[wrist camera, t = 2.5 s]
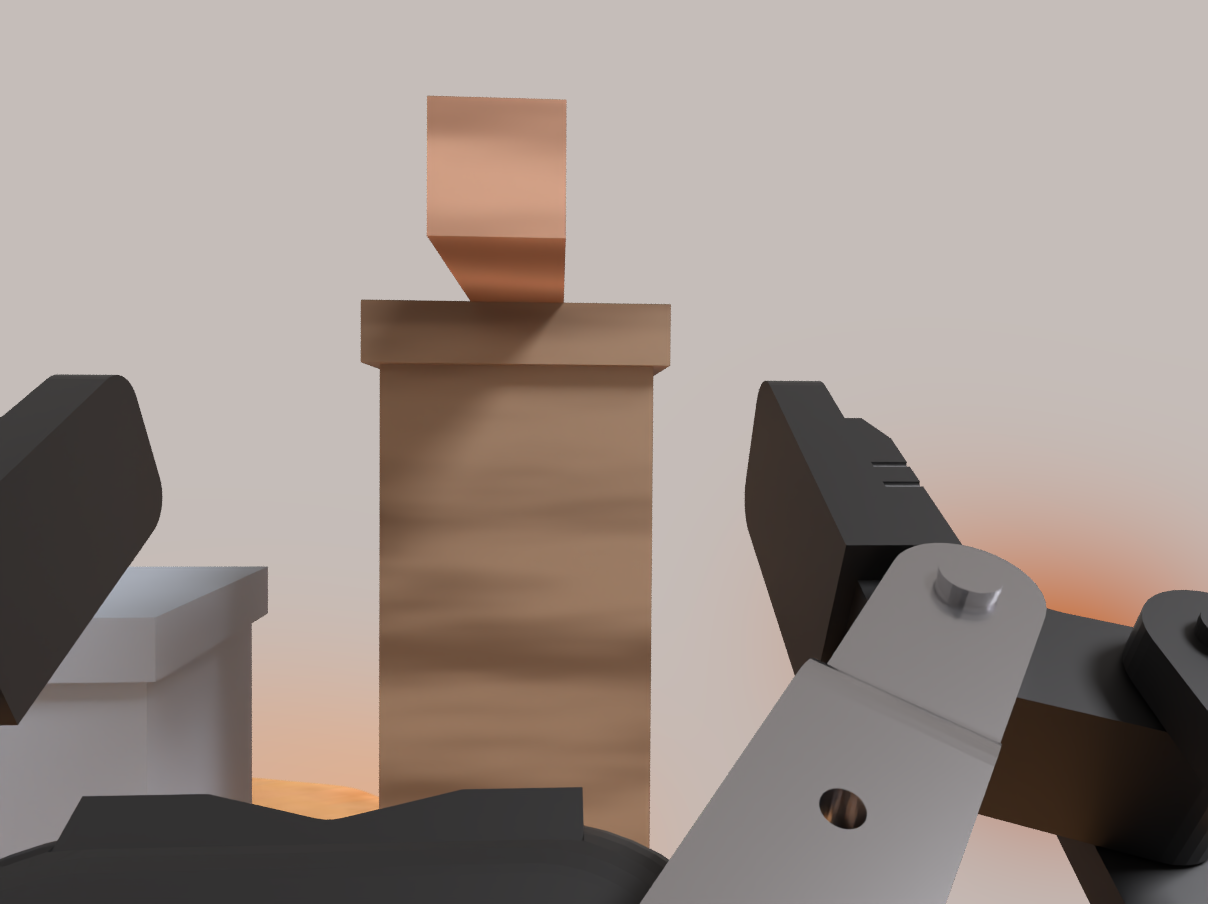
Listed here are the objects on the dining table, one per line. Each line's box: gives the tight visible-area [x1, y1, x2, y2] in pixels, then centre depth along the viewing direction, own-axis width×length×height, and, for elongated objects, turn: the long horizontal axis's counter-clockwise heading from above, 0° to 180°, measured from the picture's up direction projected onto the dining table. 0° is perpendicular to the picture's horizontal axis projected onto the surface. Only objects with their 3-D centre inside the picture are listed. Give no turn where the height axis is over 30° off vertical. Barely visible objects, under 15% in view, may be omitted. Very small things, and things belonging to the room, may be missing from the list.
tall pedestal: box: [361, 300, 671, 848], centre depth 33 cm, size 10×10×32 cm
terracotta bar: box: [427, 96, 566, 303], centre depth 29 cm, size 22×3×3 cm, turn 3°
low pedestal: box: [0, 567, 268, 859], centre depth 31 cm, size 10×10×22 cm
